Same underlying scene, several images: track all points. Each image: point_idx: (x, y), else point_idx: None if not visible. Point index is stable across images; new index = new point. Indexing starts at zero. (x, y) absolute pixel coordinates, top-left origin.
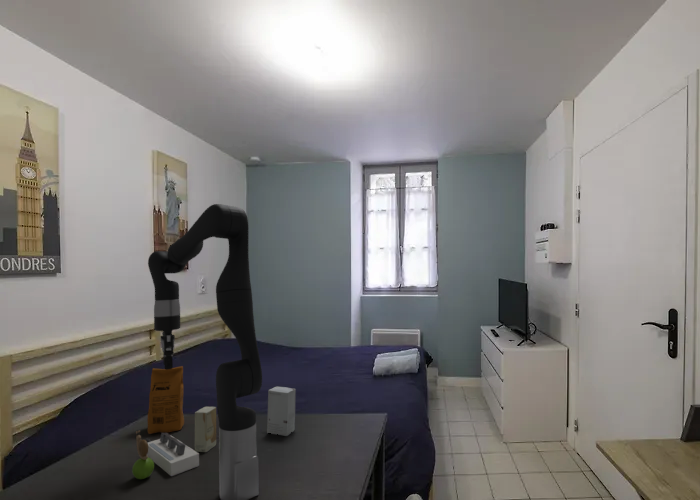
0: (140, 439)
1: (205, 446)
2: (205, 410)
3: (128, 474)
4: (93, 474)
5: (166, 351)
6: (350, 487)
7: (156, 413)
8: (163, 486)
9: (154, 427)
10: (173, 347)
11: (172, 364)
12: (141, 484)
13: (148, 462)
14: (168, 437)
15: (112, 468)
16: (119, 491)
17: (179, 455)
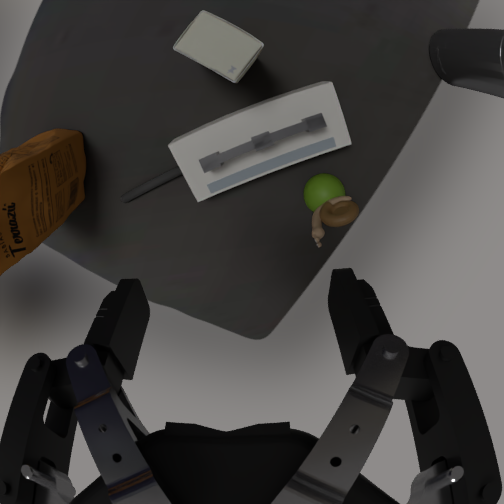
0: (320, 226)
1: (256, 58)
2: (232, 45)
3: (287, 212)
4: (254, 266)
5: (430, 398)
6: None
7: (65, 204)
8: (372, 153)
9: (80, 194)
10: (392, 404)
11: (358, 284)
12: None
13: (341, 190)
14: (245, 152)
15: (243, 242)
16: None
17: None
